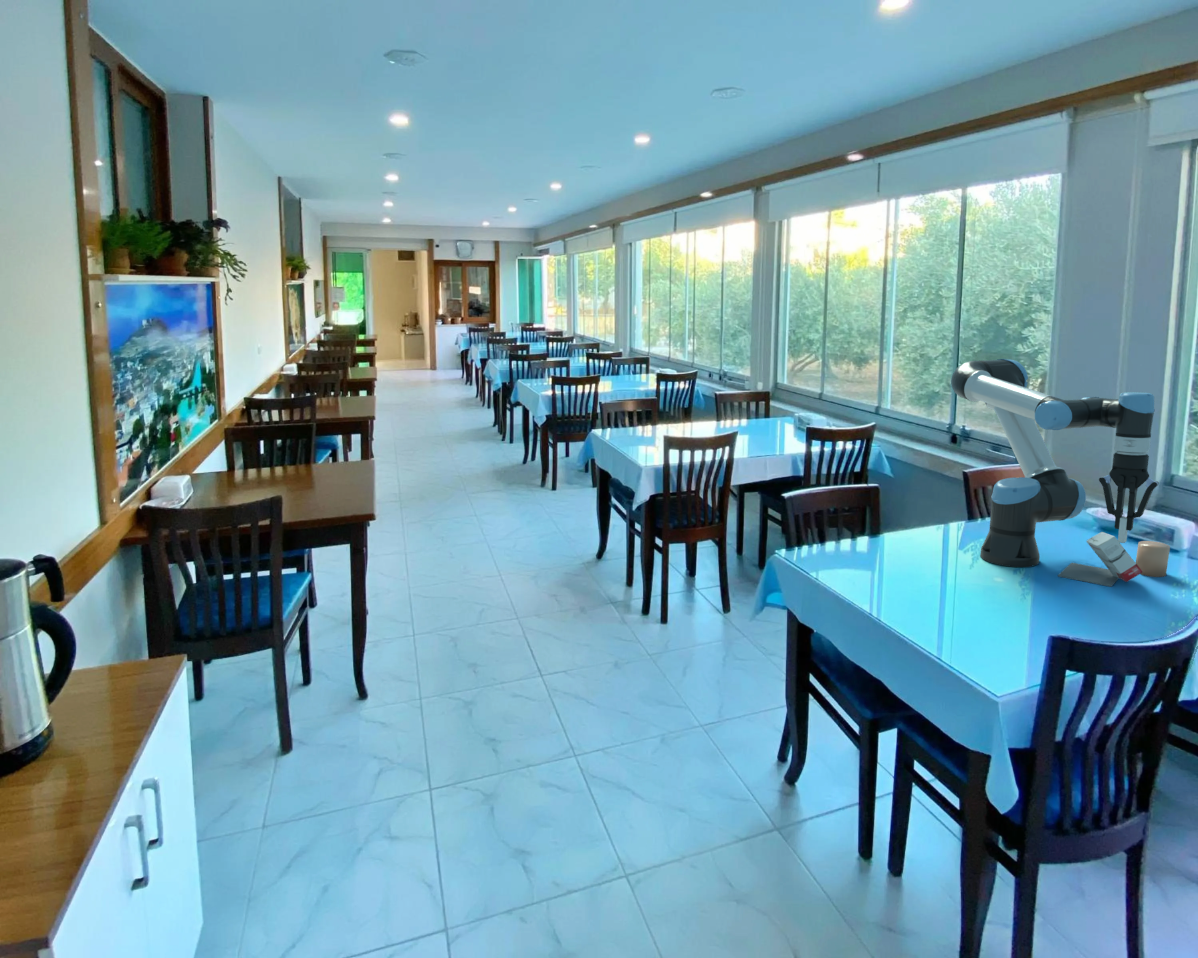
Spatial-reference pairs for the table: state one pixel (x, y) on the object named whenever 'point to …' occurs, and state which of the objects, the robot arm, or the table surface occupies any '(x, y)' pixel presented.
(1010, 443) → the robot arm
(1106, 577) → the slate mat
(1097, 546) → the ink box
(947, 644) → the table surface
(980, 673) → the table surface
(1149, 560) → the beige domed cylinder
